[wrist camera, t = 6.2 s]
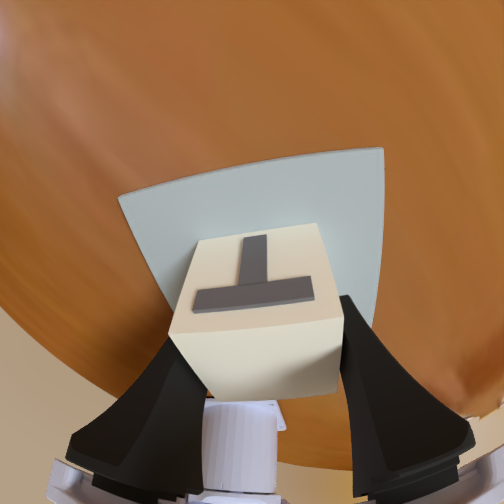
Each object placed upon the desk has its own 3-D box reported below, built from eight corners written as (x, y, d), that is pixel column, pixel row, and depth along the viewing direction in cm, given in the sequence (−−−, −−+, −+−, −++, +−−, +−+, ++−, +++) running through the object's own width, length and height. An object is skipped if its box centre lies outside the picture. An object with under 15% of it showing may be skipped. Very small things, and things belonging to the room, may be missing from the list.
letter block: (322, 306, 14) (336, 392, 10) (228, 317, 14) (217, 401, 10) (316, 218, 11) (344, 312, 7) (197, 237, 11) (165, 330, 7)
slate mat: (369, 329, 15) (370, 333, 15) (198, 349, 17) (197, 352, 17) (380, 146, 9) (383, 148, 9) (120, 195, 11) (117, 198, 10)
